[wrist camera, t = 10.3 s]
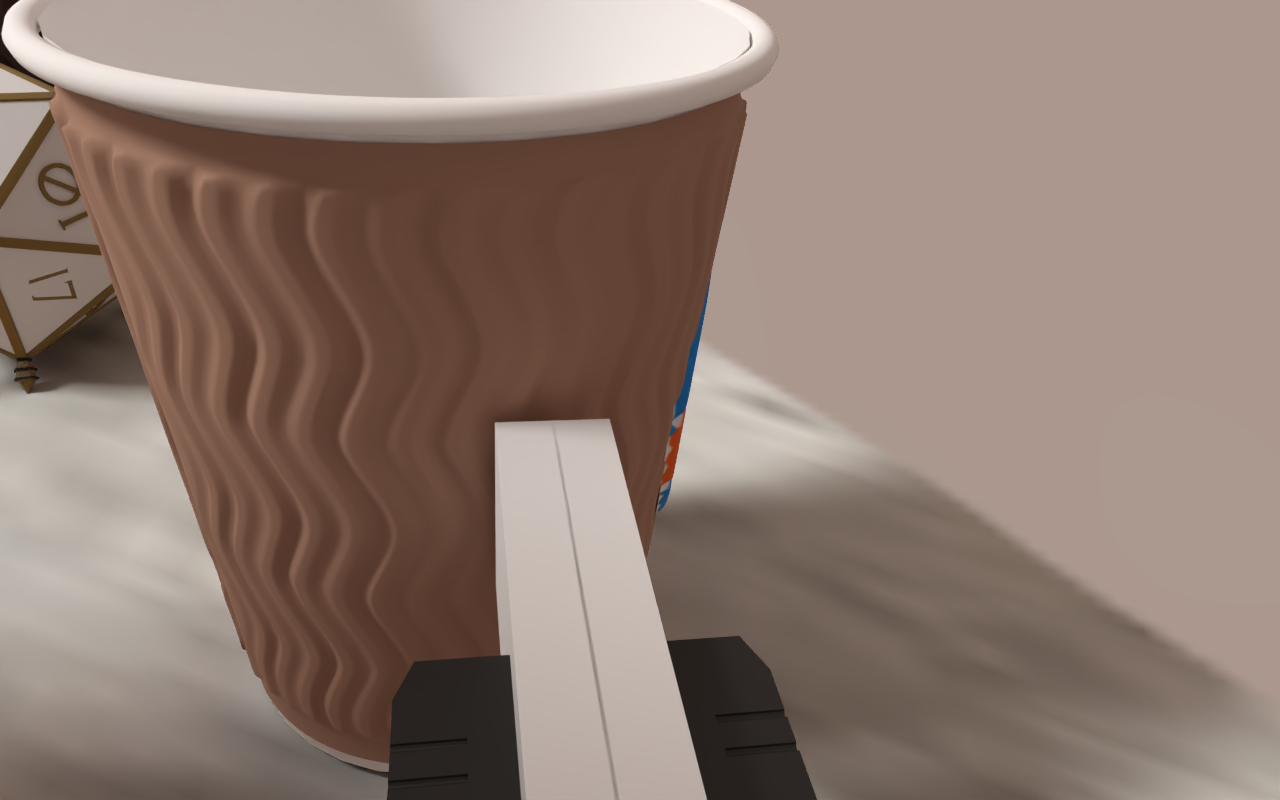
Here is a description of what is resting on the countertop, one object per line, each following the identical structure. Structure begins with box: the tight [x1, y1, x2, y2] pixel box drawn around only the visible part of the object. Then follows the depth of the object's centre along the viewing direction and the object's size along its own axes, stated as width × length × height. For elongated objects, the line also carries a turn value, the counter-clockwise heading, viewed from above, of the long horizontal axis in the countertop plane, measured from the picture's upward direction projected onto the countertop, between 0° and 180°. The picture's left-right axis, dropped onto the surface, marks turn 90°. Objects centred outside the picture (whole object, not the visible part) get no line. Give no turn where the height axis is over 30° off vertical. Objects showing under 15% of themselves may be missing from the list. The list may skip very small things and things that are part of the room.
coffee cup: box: [1, 0, 779, 772], centre depth 18 cm, size 10×10×12 cm
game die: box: [0, 63, 117, 393], centre depth 28 cm, size 9×8×10 cm
